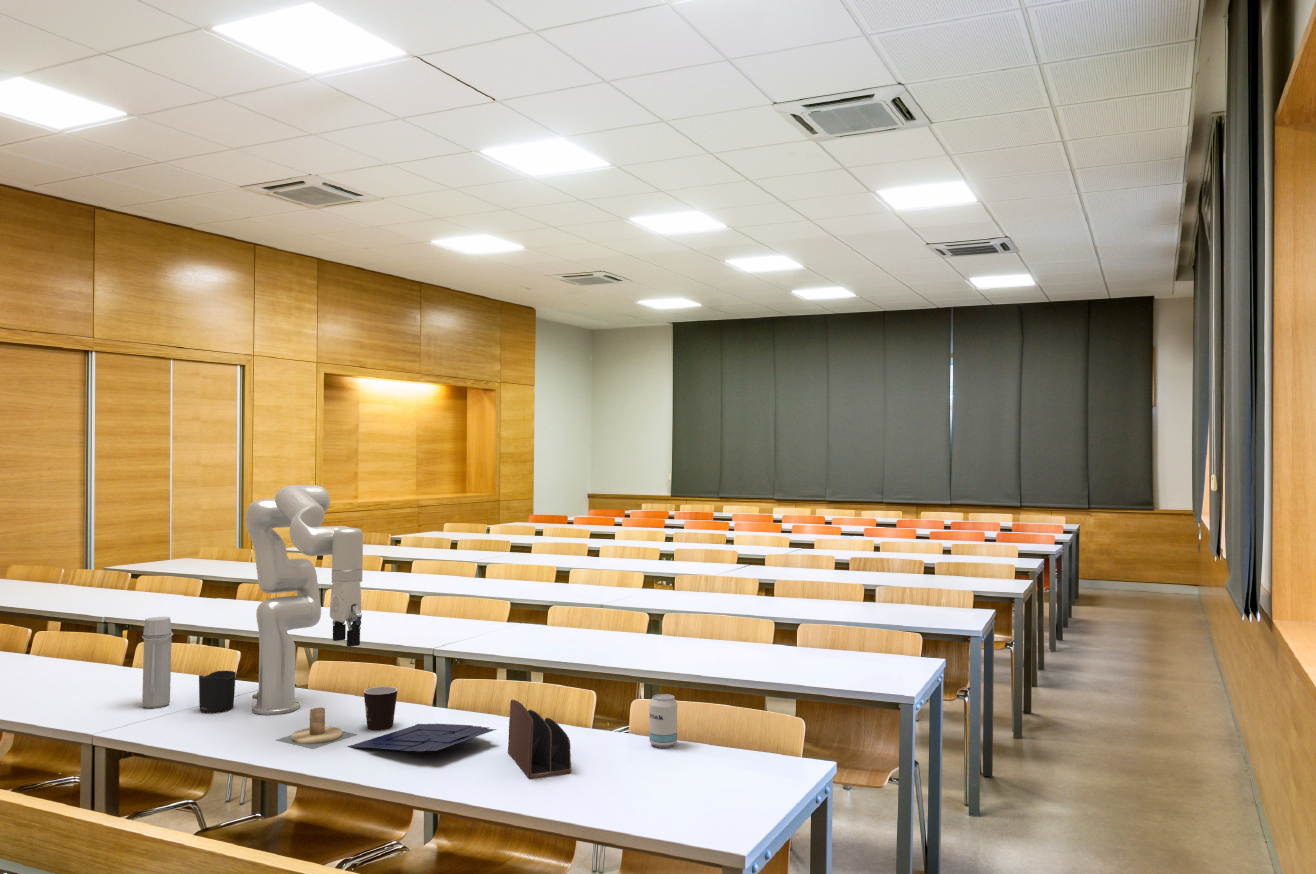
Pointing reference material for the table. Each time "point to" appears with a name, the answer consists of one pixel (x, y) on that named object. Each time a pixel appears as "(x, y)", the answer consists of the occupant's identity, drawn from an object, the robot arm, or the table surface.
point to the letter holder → (537, 743)
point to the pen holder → (217, 691)
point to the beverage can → (663, 721)
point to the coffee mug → (380, 707)
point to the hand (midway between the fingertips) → (346, 643)
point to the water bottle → (156, 662)
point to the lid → (317, 730)
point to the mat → (313, 746)
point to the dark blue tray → (425, 737)
